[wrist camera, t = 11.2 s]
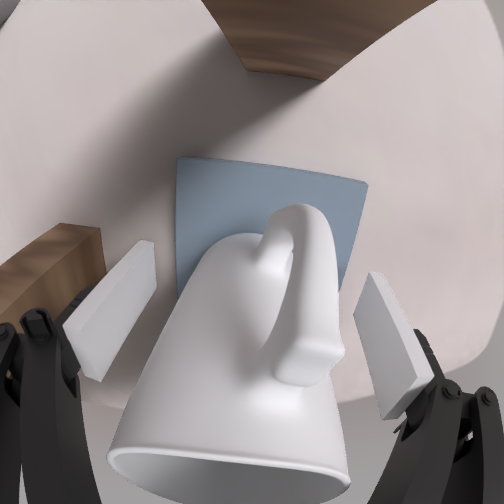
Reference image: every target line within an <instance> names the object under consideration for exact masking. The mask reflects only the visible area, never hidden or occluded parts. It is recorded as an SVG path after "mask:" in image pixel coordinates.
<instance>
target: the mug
mask: <svg viewBox="0 0 504 504" xmlns="http://www.w3.org/2000/svg"><path fill="white" fill-rule="evenodd" d="M292 249H293V253H292V252H291V251H292ZM344 354H345V347H344V345H343V343H342V340H341V336H340V331H339V295H338V272H337V260H336V252H335V246H334V240H333V236H332V232H331V229H330V226H329V223H328V221H327V219H326V218H325V216H324V215H323V213H322V212H321V211H319V210H318V209H316V208H315V207H313V206H310V205H308V204H303V203H296V204H291V205H289V206H286V207H283V208H281V209H278V210H276V211H274V212H273V213H272V215H271V217H270V219H269V221H268V224H267V226H266V229H265V231H264V234H263V235H262V234H257V233H240V234H234V235H231V236H228V237H225V238H223V239H221V240H219V241H218V242H216V243H215V244H213V245H212V246H211V247H210V248H209V249H208V250H207V251H206V252H205V254H204V255H203V257H202V258H201V260H200V262H199V263H198V265H197V267H196V269H195V271H194V272H193V274H192V276H191V277H190V279H189V280H188V282H187V284H186V286H185V288H184V290H183V292H182V294H181V296H180V298H179V300H178V301H177V303H176V305H175V307H174V309H173V311H172V313H171V315H170V317H169V319H168V321H167V323H166V325H165V327H164V329H163V330H162V332H161V334H160V336H159V338H158V340H157V342H156V344H155V346H154V348H153V350H152V352H151V354H150V356H149V358H148V360H147V362H146V365H145V367H144V369H143V371H142V373H141V375H140V377H139V379H138V381H137V383H136V385H135V387H134V390H133V392H132V394H131V396H130V398H129V401H128V403H127V405H126V408H125V410H124V413H123V415H122V418H121V421H120V423H119V426H118V428H117V431H116V434H115V437H114V439H113V442H112V444H111V447H110V449H109V451H108V452H107V455H106V459H107V461H108V463H109V465H110V466H111V467H112V468H113V469H114V470H115V471H116V472H117V473H118V474H120V475H121V476H122V477H124V478H125V479H127V480H128V481H130V482H132V483H133V484H135V485H137V486H138V487H140V488H142V489H144V490H147V491H149V492H151V493H154V494H156V495H158V496H161V497H164V498H166V499H169V500H173V501H176V502H179V503H183V504H320V503H323V502H326V501H329V500H331V499H333V498H335V497H337V496H339V495H340V494H342V493H344V492H345V491H346V490H347V489H348V488H349V486H350V484H351V480H350V478H349V474H348V467H347V460H346V452H345V445H344V438H343V432H342V427H341V422H340V417H339V412H338V408H337V403H336V398H335V394H334V390H333V385H332V381H331V377H330V373H329V371H330V370H331V369H332V367H333V366H334V365H336V364H337V363H338V362H339V361H340V360H341V359H342V358H343V356H344Z"/></svg>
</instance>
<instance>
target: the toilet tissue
mask: <svg viewBox="0 0 504 504" xmlns="http://www.w3.org/2000/svg"><path fill="white" fill-rule="evenodd" d="M19 2H20V0H0V25H1V24H2V23H3V22H4V21H5V20H6V19H7V18H8V17H9V16H10V15H11V14H12V12H13V11H14V9H15V8H16V6H17V5H18V3H19Z"/></svg>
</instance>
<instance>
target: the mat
mask: <svg viewBox="0 0 504 504" xmlns="http://www.w3.org/2000/svg"><path fill="white" fill-rule="evenodd" d="M367 189H368V184H366V183H365V182H363V181H358V180H354V179H349V178H344V177H339V176H334V175H329V174H323V173H318V172H312V171H306V170H300V169H294V168H287V167H281V166H274V165H266V164H259V163H250V162H242V161H232V160H222V159H211V158H198V157H180V158H177V176H176V273H177V296H178V300H179V298H180V296H181V294H182V292H183V290H184V288H185V286H186V284H187V282H188V280H189V279H190V277H191V276H192V274H193V272H194V271H195V269H196V267H197V265H198V263H199V262H200V260H201V258H202V257H203V255H204V254H205V252H206V251H207V250H208V249H209V248H210V247H211V246H212V245H213V244H215V243H216V242H218V241H219V240H221V239H223V238H225V237H228V236H231V235H234V234H240V233H257V234H262V235H263V234H264V231H265V229H266V226H267V224H268V221H269V219H270V217H271V215H272V213H273V212H274V211H276V210H278V209H281V208H283V207H286V206H289V205H291V204H296V203H303V204H308V205H310V206H313V207H315V208H316V209H318V210H319V211H321V212H322V213H323V215H324V216H325V218H326V219H327V221H328V223H329V226H330V229H331V232H332V236H333V240H334V246H335V252H336V260H337V272H338V293H339V290H340V287H341V284H342V281H343V278H344V275H345V271H346V268H347V265H348V262H349V258H350V255H351V251H352V248H353V245H354V241H355V237H356V234H357V230H358V226H359V222H360V218H361V215H362V211H363V206H364V202H365V198H366V194H367ZM291 252H292V253H293V249H292V251H291Z"/></svg>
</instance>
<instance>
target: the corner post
mask: <svg viewBox="0 0 504 504" xmlns="http://www.w3.org/2000/svg"><path fill="white" fill-rule="evenodd" d="M106 275H107V274H106V268H105V262H104V256H103V249H102V242H101V234H100V228H95V227H87V226H79V225H72V224H64V223H59V224H58V225H56V226H55V227H53V228H52V229H50V230H49V231H47V232H46V233H44V234H43V235H41V236H40V237H38V238H37V239H35V240H34V241H33V242H31V243H30V244H28V245H27V246H26V247H24V248H23V249H22V250H20V251H19V252H18V253H16V254H15V255H14V256H12V257H11V258H10V259H8V260H7V261H6V262H4V263H3V264H2V265H1V266H0V324H1V323H4V322H9V323H11V324H12V325H13V326H14V327H15V329H16V331H17V333H22V334H25V333H24V331H23V328H22V326H21V324H20V322H19V321H20V318H21V316H22V315H23V314H24V313H25V312H27V311H29V310H30V309H33V308H44V309H46V310H47V311H48V312H49V313H50V316H51V319H52V321H53V322H54V321H55V319H56V318H57V317H58V316H59V315H60V314H61V312H62V311H63V310H64V309H65V308H66V307H67V306H69V303H70V302H71V301H72V300H74V298H75V297H76V296H77V294H78V293H79V292H80V291H81V290H83V289H85V288H86V287H88V286H90V285H92V286H97V285H98V283H99V282H100V281H101V280H102V279H103V278H104V277H105V276H106ZM10 374H11V373H10V371H9V370H8V371H7V374H6V376H7V378H9V376H10Z"/></svg>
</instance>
